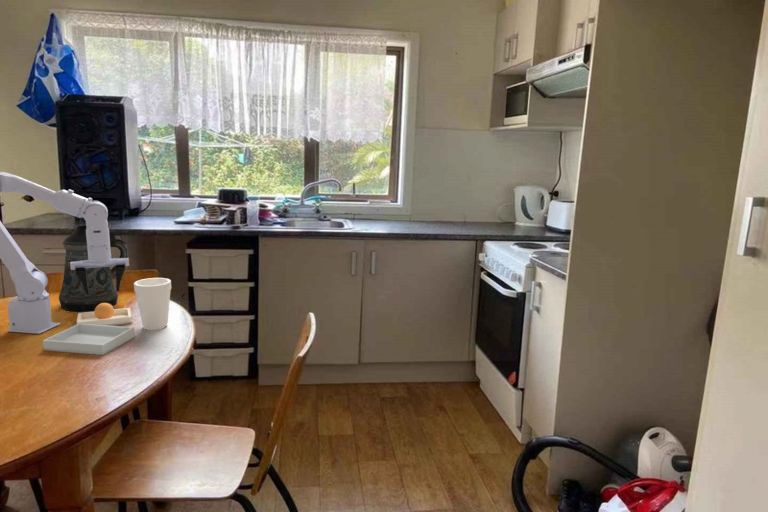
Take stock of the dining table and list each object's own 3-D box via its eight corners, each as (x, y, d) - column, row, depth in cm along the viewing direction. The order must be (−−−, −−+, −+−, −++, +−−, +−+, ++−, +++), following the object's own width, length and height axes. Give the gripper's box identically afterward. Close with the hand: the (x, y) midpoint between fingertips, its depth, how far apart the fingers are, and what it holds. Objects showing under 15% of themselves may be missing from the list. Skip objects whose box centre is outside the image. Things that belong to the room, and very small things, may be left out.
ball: (91, 322, 151) (89, 305, 150) (102, 316, 156) (101, 300, 155) (107, 323, 151) (106, 306, 150) (118, 317, 156) (117, 301, 155)
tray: (43, 350, 132) (42, 340, 131) (79, 332, 145) (78, 323, 144) (104, 355, 130) (103, 345, 130) (134, 336, 143) (134, 327, 142)
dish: (77, 329, 147) (76, 322, 146) (78, 319, 155) (78, 313, 154) (131, 323, 153) (131, 316, 152) (130, 314, 161) (130, 307, 160)
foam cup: (160, 333, 145) (157, 287, 143) (129, 330, 147) (126, 285, 145) (179, 322, 155) (177, 279, 152) (151, 319, 156) (148, 276, 154)
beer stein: (47, 308, 164) (38, 227, 159) (101, 292, 182) (95, 220, 177) (85, 315, 158) (77, 232, 153) (138, 299, 176) (132, 224, 170)
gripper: (67, 249, 142) (72, 298, 145) (128, 246, 149) (131, 292, 152) (69, 244, 148) (74, 291, 151) (126, 241, 155) (130, 286, 158)
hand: (102, 292), depth 152 cm, fingers open, 7 cm apart
